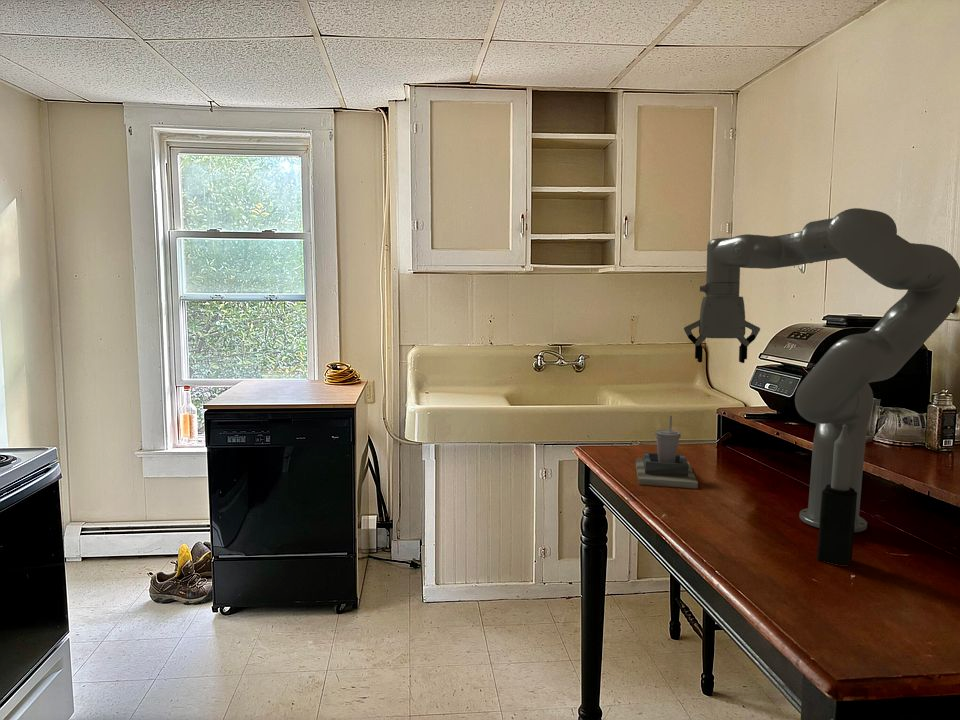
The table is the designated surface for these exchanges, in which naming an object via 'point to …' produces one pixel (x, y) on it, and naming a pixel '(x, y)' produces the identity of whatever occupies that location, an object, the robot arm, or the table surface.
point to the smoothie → (667, 444)
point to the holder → (665, 472)
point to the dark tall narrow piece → (838, 507)
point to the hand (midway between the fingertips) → (720, 362)
